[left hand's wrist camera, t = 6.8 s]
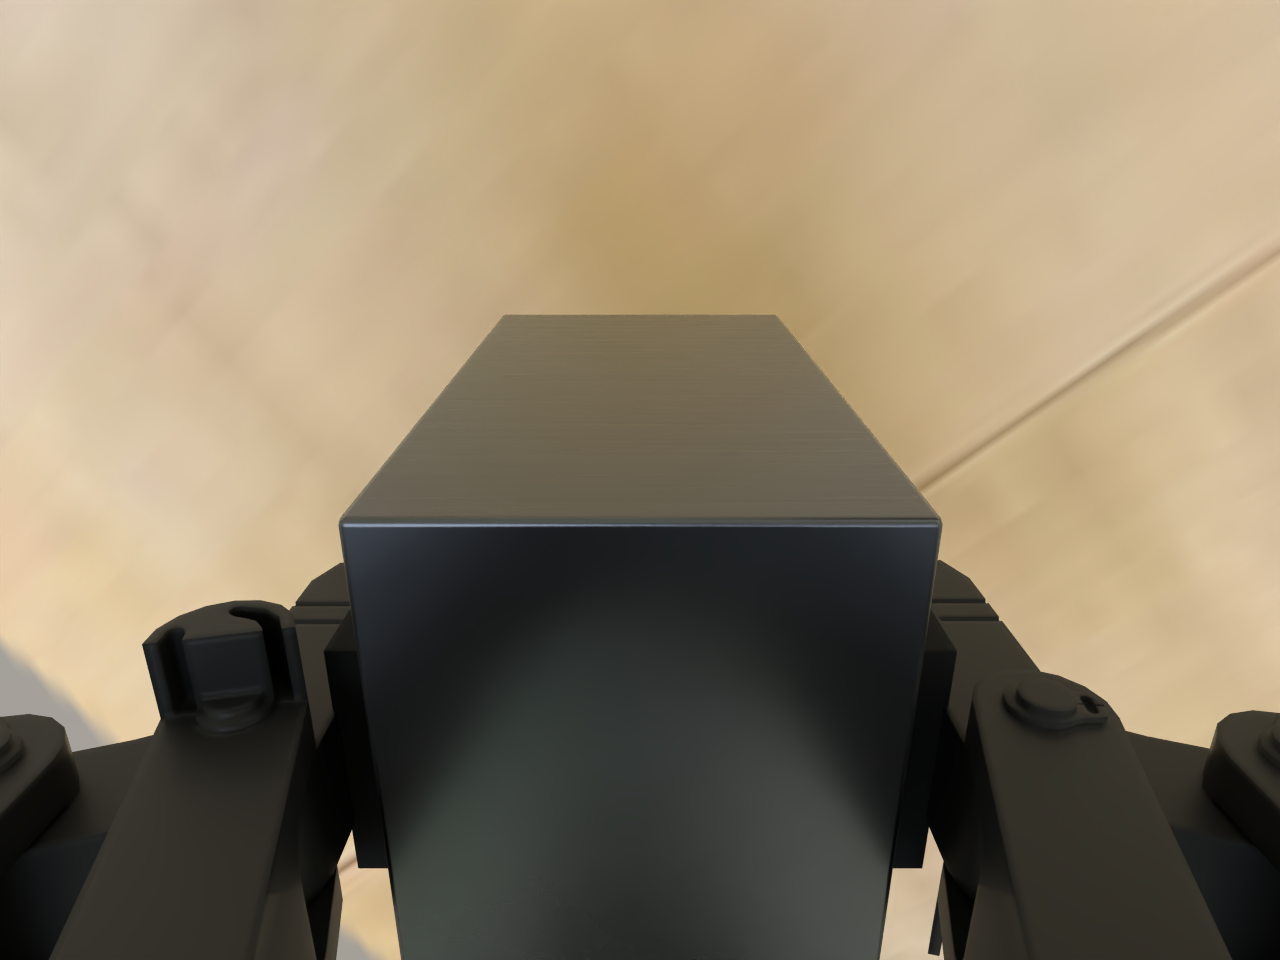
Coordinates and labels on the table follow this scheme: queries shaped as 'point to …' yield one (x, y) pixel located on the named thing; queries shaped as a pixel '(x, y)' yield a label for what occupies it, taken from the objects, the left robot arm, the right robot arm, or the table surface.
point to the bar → (640, 649)
